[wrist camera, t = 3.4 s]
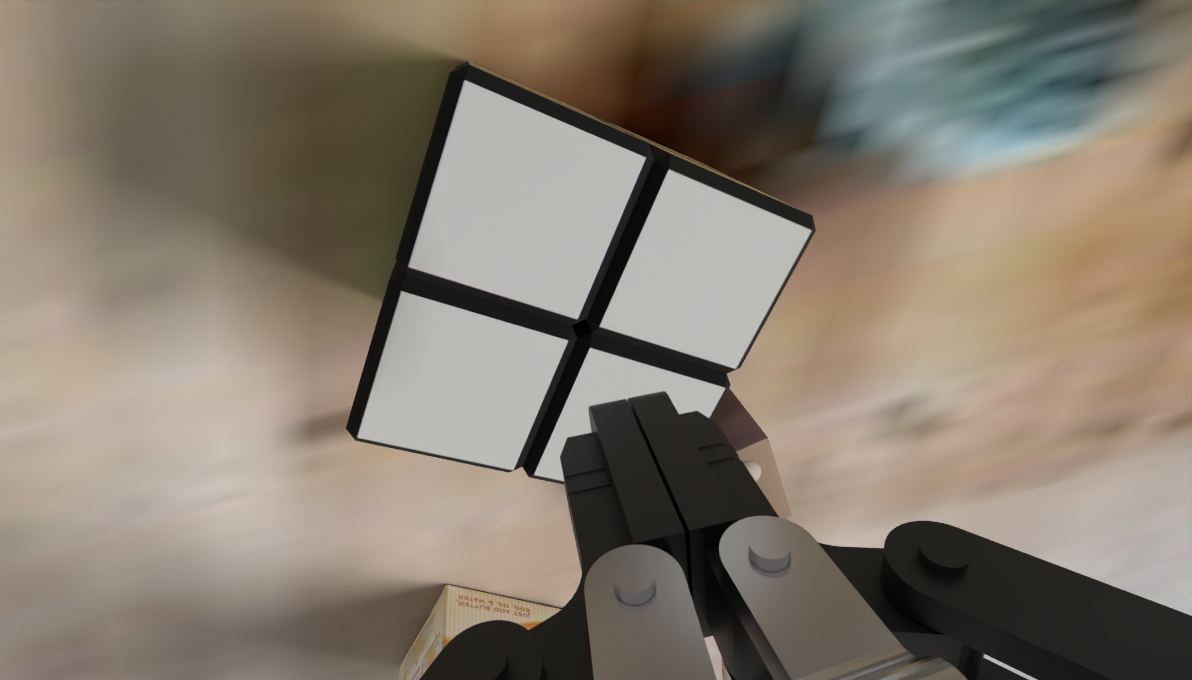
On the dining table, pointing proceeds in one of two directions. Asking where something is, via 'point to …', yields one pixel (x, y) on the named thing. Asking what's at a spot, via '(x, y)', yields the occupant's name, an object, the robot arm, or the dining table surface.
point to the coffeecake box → (464, 623)
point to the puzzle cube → (561, 281)
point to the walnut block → (752, 450)
